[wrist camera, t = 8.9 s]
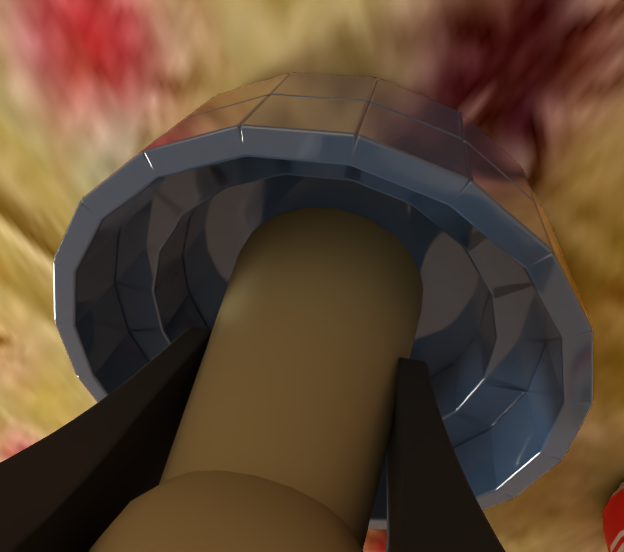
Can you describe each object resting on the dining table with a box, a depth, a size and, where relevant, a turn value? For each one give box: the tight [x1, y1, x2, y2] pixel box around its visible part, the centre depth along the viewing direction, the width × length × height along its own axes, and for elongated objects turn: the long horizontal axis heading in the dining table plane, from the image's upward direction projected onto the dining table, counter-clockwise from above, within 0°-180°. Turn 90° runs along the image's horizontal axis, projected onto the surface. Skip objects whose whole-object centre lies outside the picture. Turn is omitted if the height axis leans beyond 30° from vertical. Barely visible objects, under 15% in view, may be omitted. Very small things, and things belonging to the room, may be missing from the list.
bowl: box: [53, 73, 594, 529], centre depth 14 cm, size 13×13×4 cm
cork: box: [89, 207, 423, 552], centre depth 11 cm, size 6×6×11 cm
